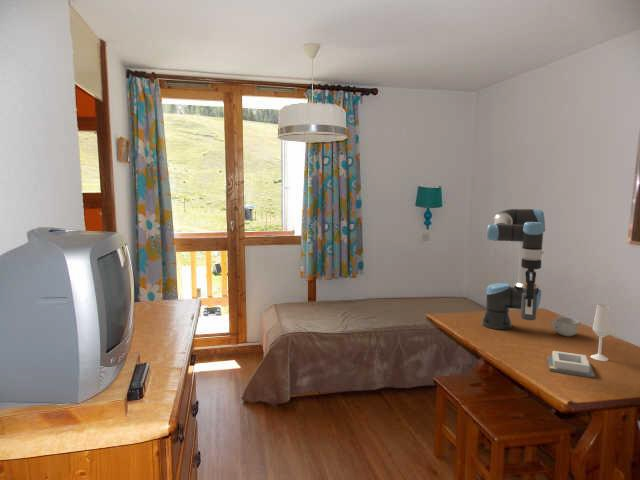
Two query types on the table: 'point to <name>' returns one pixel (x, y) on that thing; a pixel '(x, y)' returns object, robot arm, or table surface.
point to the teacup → (565, 326)
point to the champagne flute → (601, 327)
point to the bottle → (523, 303)
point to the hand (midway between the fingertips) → (528, 311)
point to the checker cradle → (570, 364)
